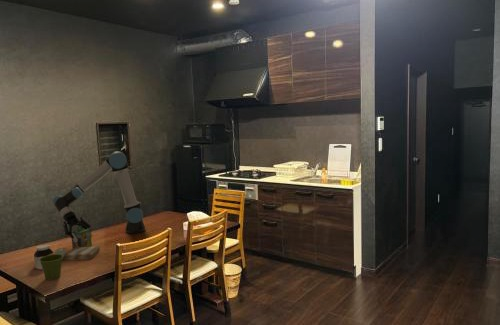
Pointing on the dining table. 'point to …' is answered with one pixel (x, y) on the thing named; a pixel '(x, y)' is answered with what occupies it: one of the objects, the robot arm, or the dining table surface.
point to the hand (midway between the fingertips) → (84, 239)
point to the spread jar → (41, 254)
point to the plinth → (82, 253)
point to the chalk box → (82, 238)
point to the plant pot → (51, 265)
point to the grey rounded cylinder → (61, 252)
